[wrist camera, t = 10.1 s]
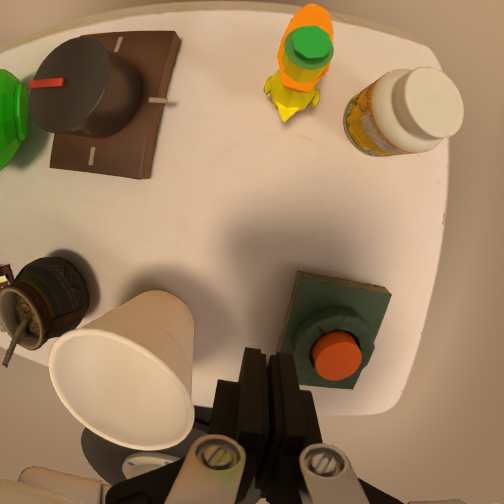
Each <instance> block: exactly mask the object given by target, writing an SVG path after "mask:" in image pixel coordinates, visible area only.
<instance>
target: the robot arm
mask: <svg viewBox="0 0 504 504" xmlns="http://www.w3.org/2000/svg"><path fill="white" fill-rule="evenodd" d="M122 470H123V473H124V475H125V477H126V478H127V480H124V481H121V482H119V483H117V484H115V485H110V484H103V483H102V481H101V480H96V479H90V478H85V477H80V476H76V475H71V474H67V473H62V472H58V471H55V470H51V469H47V468H44V467H37V466H34V467H28V468H26V469H25V470H23V471H22V472H21V474H20V476H19V478H18V482H17V481H11V480H5V479H0V504H238V503H239V502H241V501H243V500H244V499H245V497H246V495H247V492H248V490H249V489H250V487H251V485H252V482H253V479H254V477H255V489H260V498H266V501H267V502H268V503H270V504H404V503H402V502H400V501H399V500H398V499H396V498H394V497H392V496H390V495H388V494H386V493H384V492H382V491H381V490H378V489H377V488H375V487H373V486H372V485H370V484H368V483H366V482H365V481H363V480H361V479H359V478H358V477H357V476H356V474H355V472H354V470H353V468H352V466H351V464H350V461H349V459H348V457H347V456H346V455H345V453H344V452H343V451H341V450H340V449H338V448H337V447H335V446H332V445H328V444H323V442H322V437H321V433H320V428H319V424H318V419H317V414H316V410H315V406H314V401H313V397H312V393H311V392H310V391H307V390H300V388H299V383H298V377H297V372H296V367H295V361H294V356H293V354H292V353H284V352H277V353H276V355H270V358H269V362H268V366H267V357H266V354H261V349H255V348H248V347H245V350H244V355H243V360H242V365H241V370H240V375H239V380H238V382H231V381H225V380H219V379H218V382H217V387H216V393H215V398H214V404H213V409H212V415H211V420H210V426H209V431H208V435H206V436H203V437H200V438H199V439H197V440H196V441H195V442H194V443H193V444H192V446H191V448H190V450H189V452H188V454H187V456H186V457H184V458H179V457H176V456H172V455H168V454H163V453H157V452H139V453H134V454H131V455H129V456H128V457H127V458H126V459H125V461H124V463H123V467H122ZM408 504H466V503H465V502H463V501H460V500H441V501H422V502H421V501H420V502H409V503H408ZM492 504H504V503H492Z"/></svg>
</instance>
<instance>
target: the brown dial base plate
mask: <svg viewBox="0 0 504 504" xmlns="http://www.w3.org/2000/svg"><path fill="white" fill-rule="evenodd" d="M80 37H91V38H95V39H97V40H98V41H100V42H101V43H103V44H104V45H105V46H107V47H108V48H110V49H111V50H112V51H114V52H115V53H116V54H118V55H119V56H120V57H122V58H123V59H124V60H126V61H127V62H128V63H129V64H131V65H132V66H133V67H134V68H135V69H136V70H137V72H138V74H139V76H140V79H141V84H142V94H141V100H140V103H139V106H138V108H137V110H136V112H135V114H134V116H133V117H132V119H131V120H130V121H129V122H128V123H127V125H125V126H124V127H123V128H122V129H121V130H120V131H118V132H117V133H115V134H113V135H111V136H108V137H105V138H88V137H81V136H74V135H66V134H58V133H55V134H54V140H53V146H52V153H51V160H50V168H56V169H65V170H74V171H82V172H90V173H98V174H105V175H112V176H120V177H127V178H133V179H149V177H150V171H151V165H152V159H153V154H154V148H155V143H156V138H157V133H158V128H159V123H160V119H161V114H162V110H163V105H164V104H167V100H168V99H165V97H166V93H167V89H168V85H169V81H170V77H171V73H172V69H173V65H174V62H175V58H176V55H177V51H178V48H179V44H180V41H181V40H180V38H179V37H178V35H177V34H176V32H175V31H127V32H111V33H100V34H90V35H82V36H80Z"/></svg>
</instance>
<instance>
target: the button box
mask: <svg viewBox="0 0 504 504" xmlns="http://www.w3.org/2000/svg"><path fill="white" fill-rule="evenodd" d="M391 295H392V294H391V293H390V292H389V291H388V290H387V289H386V288H385V287H380V286H375V285H369V284H364V283H359V282H353V281H348V280H343V279H338V278H332V277H327V276H322V275H317V274H312V273H306V272H301V271H298V272H297V276H296V280H295V284H294V287H293V291H292V295H291V299H290V303H289V306H288V310H287V314H286V317H285V321H284V325H283V328H282V332H281V335H280V339H279V342H278V346H277V349H276V353H277V352H284V353H292V354H293V356H294V361H295V367H296V372H297V377H298V383H299V385H307V386H317V387H328V388H340V389H353V388H354V386H355V384H356V382H357V380H358V377H359V375H360V373H361V371H362V369H363V368H364V367H365V366H367V364H368V362H369V360H370V357H371V355H372V353H373V350H374V347H375V346H374V340H375V338H376V336H377V333H378V331H379V328H380V325H381V323H382V320H383V318H384V315H385V312H386V309H387V307H388V304H389V301H390V298H391ZM334 331H342V332H346V333H348V334H350V335H351V336H352V337H353V338H354V340H355V342H356V344H357V346H358V348H359V349H360V352H361V356H362V359H361V363H360V365H359V367H358V369H357V370H356V371H355V372H354V373H353V374H352V375H350V376H349V377H347V378H344V379H341V380H335V381H333V380H327V379H324V378H323V377H321V376H320V375H319V374H318V372H317V370H316V367H315V363H314V359H313V355H312V352H313V347H314V345H315V343H316V342H317V341H318V340H319V339H320V338H321V337H322V336H324V335H325V334H327V333H330V332H334ZM276 353H275V355H276Z"/></svg>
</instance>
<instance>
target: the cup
mask: <svg viewBox="0 0 504 504" xmlns="http://www.w3.org/2000/svg"><path fill="white" fill-rule="evenodd" d="M193 342H194V321H193V317H192V315H191V312H190V311H189V309H188V308H187V306H186V305H185V304H184V303H183V302H182V301H181V300H180V299H178V298H177V297H176V296H174V295H172V294H170V293H167V292H164V291H158V290H152V291H147V292H143V293H141V294H140V295H138V296H136V297H134V298H132V299H131V300H129V301H127V302H126V303H124V304H122V305H120V306H119V307H117V308H115V309H113V310H112V311H110V312H108V313H107V314H105V315H103V316H101V317H100V318H98V319H96V320H94V321H92V322H91V323H89V324H87V325H85V326H84V327H82V328H79V329H74V330H70V331H68V332H67V333H65V334H63V335H61V336H60V337H59V338H58V339H57V340H56V341H55V343H54V344H53V347H52V349H51V351H50V355H49V362H48V363H49V373H50V377H51V380H52V384H53V386H54V388H55V390H56V392H57V394H58V396H59V398H60V399H61V401H62V402H63V404H64V405H65V406H66V408H67V409H68V410H69V411H70V412H71V414H72V415H73V416H74V417H75V418H77V420H79V421H80V422H81V423H82V424H83V425H84V426H86V427H87V428H88V429H90V430H91V431H92V432H94V433H95V434H97V435H99V436H101V437H103V438H104V439H106V440H108V441H111V442H113V443H115V444H118V445H121V446H124V447H128V448H132V449H138V450H161V449H166V448H169V447H172V446H174V445H177V444H178V443H180V442H181V441H182V440H184V439H185V438H186V437H187V435H188V434H189V433H190V431H191V429H192V426H193V423H194V407H193V403H192V399H191V388H192V360H193Z"/></svg>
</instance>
